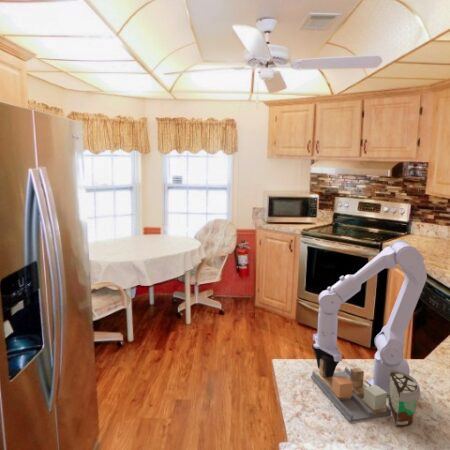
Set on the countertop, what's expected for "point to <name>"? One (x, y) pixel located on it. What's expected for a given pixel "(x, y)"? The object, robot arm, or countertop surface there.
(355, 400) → the lane board
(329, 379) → the oak strip
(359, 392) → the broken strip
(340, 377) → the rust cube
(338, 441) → the countertop surface
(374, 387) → the sage block
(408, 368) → the robot arm
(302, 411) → the countertop surface
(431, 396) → the countertop surface
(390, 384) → the food container
